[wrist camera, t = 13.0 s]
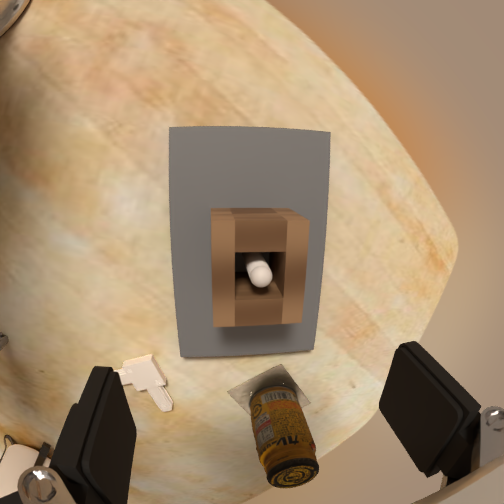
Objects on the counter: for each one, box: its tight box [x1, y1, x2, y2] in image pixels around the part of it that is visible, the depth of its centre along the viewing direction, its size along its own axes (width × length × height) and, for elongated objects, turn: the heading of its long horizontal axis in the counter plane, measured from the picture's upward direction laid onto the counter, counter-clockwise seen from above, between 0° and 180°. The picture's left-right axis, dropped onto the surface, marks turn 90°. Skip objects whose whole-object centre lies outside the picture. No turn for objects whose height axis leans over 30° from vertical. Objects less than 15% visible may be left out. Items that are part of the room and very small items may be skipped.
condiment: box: [227, 364, 319, 488], centre depth 29 cm, size 7×8×12 cm
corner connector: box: [114, 354, 173, 412], centre depth 32 cm, size 8×8×2 cm
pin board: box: [169, 126, 330, 357], centre depth 25 cm, size 22×14×8 cm, turn 179°
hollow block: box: [211, 208, 310, 327], centre depth 25 cm, size 8×7×6 cm
